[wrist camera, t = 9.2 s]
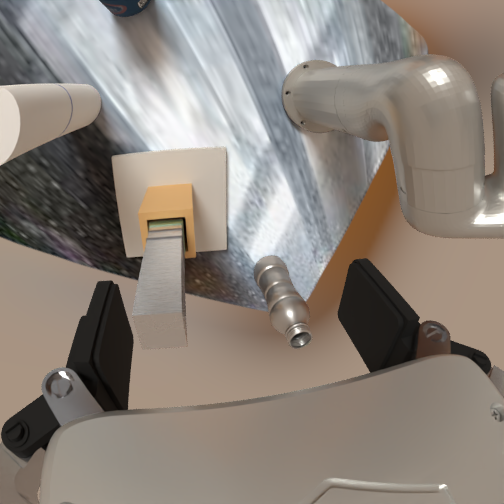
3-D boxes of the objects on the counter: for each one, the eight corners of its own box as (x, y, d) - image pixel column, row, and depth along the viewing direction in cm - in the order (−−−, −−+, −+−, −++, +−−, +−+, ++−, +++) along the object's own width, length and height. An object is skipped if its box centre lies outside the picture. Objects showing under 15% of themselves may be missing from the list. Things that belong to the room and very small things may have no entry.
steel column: (183, 206, 41) (183, 310, 22) (185, 233, 43) (189, 347, 25) (153, 208, 40) (130, 314, 22) (156, 235, 42) (141, 350, 24)
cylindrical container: (102, 123, 39) (25, 158, 18) (63, 131, 38) (-30, 176, 16) (100, 80, 35) (17, 75, 14) (60, 89, 34) (-39, 101, 13)
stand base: (225, 146, 45) (238, 165, 34) (225, 246, 54) (237, 289, 43) (113, 155, 42) (89, 178, 31) (127, 254, 51) (115, 299, 40)
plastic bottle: (251, 282, 59) (278, 359, 43) (250, 253, 56) (279, 328, 39) (283, 277, 60) (319, 350, 44) (283, 248, 57) (324, 319, 40)
